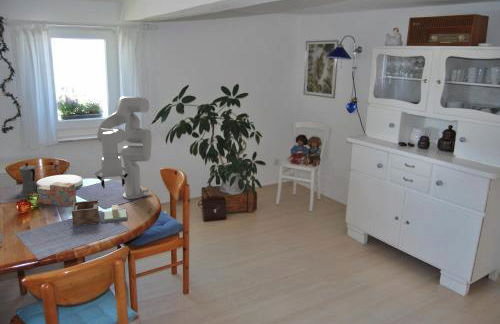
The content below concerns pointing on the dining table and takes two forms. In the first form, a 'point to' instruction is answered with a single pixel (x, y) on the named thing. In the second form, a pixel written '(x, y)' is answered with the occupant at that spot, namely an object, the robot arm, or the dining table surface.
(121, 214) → the lid
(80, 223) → the box
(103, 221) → the grey flat slab
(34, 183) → the coffeepot
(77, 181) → the plate
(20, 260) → the dining table surface
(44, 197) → the stack of blocks
